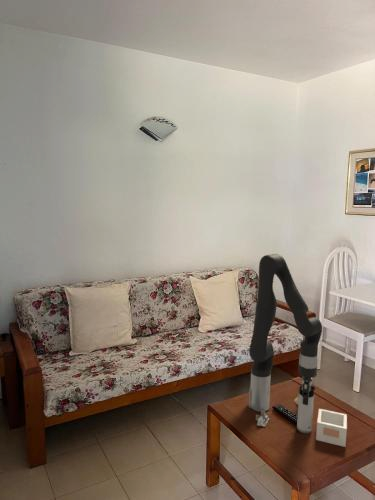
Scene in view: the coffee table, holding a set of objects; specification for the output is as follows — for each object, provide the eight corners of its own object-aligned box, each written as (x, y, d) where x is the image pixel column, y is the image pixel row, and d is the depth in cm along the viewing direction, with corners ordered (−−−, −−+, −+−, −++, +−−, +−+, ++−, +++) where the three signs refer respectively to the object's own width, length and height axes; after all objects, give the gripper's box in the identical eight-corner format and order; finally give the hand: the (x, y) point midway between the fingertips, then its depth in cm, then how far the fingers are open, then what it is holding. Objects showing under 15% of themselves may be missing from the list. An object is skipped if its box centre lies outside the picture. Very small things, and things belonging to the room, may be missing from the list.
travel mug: (313, 434, 162) (316, 391, 160) (297, 432, 164) (300, 389, 161) (311, 426, 169) (314, 384, 166) (296, 424, 170) (298, 382, 167)
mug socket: (316, 440, 159) (317, 422, 158) (318, 425, 169) (319, 408, 168) (345, 447, 154) (346, 429, 153) (345, 431, 165) (346, 414, 164)
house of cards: (252, 413, 179) (253, 398, 178) (270, 419, 174) (271, 403, 173) (246, 423, 171) (246, 407, 170) (264, 429, 167) (265, 413, 166)
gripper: (300, 356, 170) (299, 391, 172) (297, 369, 157) (295, 406, 159) (318, 359, 167) (316, 394, 169) (316, 372, 154) (313, 410, 156)
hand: (306, 400), depth 164 cm, fingers closed on travel mug, 6 cm apart
